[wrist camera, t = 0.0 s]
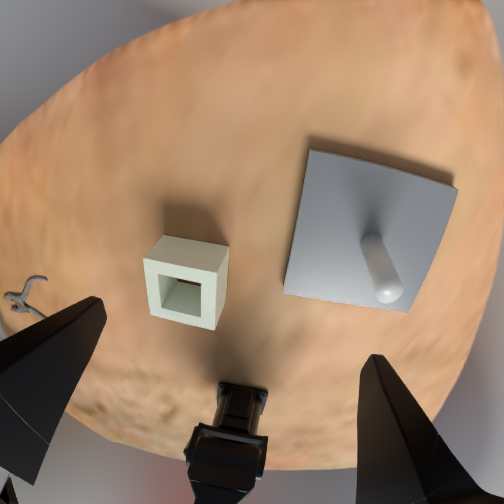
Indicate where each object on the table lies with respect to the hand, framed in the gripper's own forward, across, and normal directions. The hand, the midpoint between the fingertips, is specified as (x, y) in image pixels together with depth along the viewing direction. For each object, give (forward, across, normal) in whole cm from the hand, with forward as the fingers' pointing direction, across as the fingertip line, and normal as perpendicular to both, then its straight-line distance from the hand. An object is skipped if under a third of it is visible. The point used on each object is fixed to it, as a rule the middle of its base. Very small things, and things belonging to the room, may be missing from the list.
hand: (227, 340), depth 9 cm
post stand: (+15, -8, +2) cm, 17 cm away
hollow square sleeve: (+15, +6, +8) cm, 18 cm away
